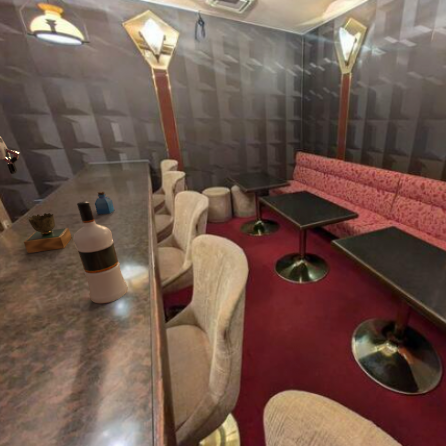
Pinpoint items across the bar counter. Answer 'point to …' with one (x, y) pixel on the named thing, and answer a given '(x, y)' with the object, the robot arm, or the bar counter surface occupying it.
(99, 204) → the perfume bottle
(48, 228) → the cup
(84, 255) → the vodka
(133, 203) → the bar counter surface
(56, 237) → the riser
